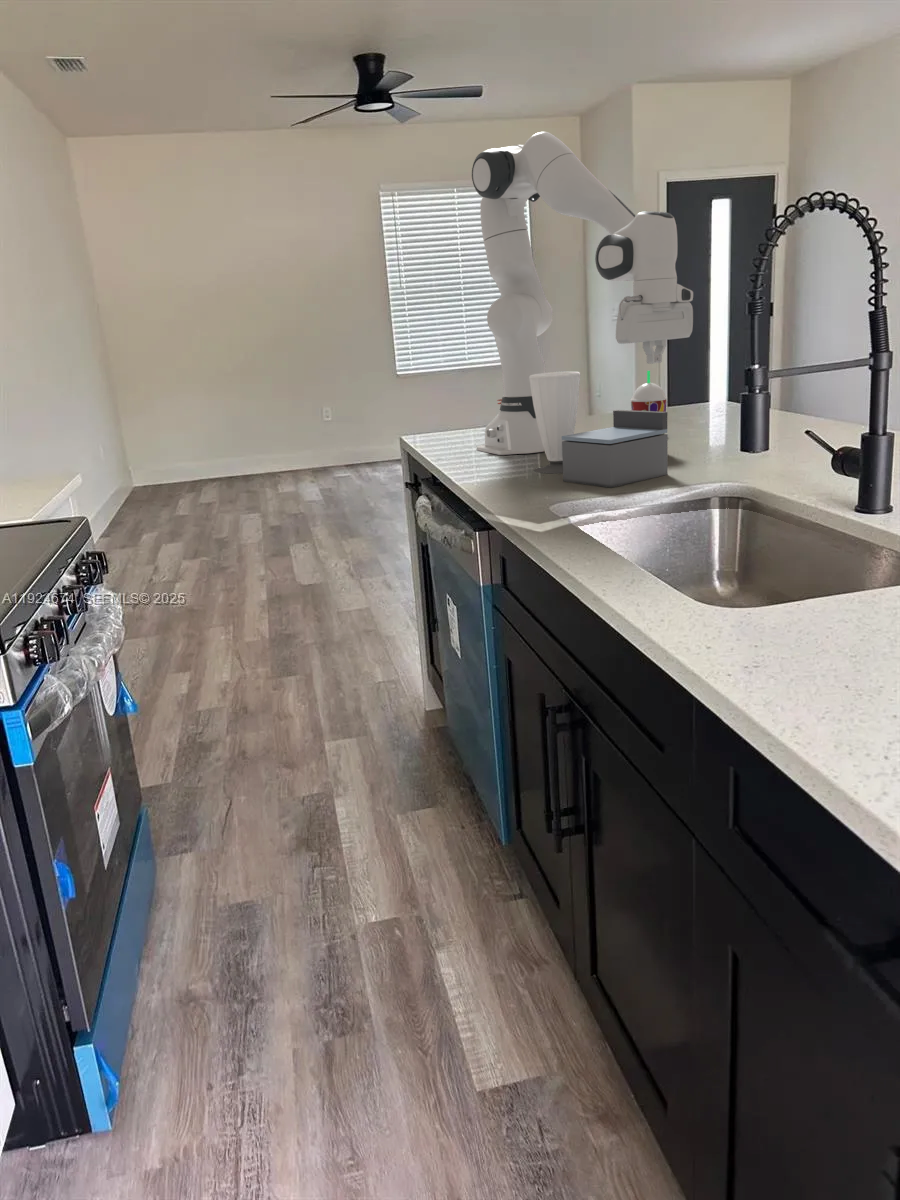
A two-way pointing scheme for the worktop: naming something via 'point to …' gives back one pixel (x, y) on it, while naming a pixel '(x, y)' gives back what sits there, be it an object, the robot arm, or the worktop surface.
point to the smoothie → (649, 397)
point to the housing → (615, 461)
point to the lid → (625, 427)
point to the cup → (555, 412)
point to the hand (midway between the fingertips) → (654, 363)
